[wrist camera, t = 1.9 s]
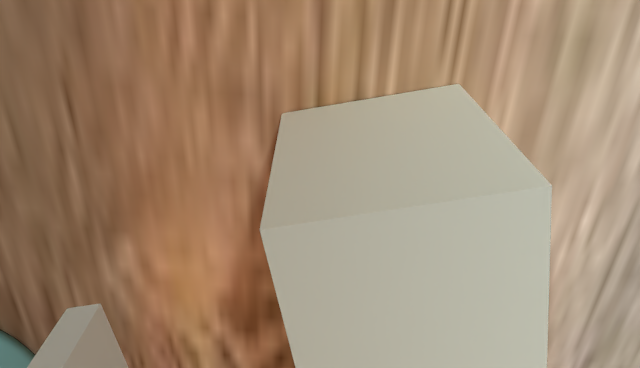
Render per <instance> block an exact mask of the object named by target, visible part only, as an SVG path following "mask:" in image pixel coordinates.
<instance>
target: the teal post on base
mask: <svg viewBox="0 0 640 368" xmlns="http://www.w3.org/2000/svg"><path fill="white" fill-rule="evenodd" d="M34 356H35V355H34V354H33V353H32V352H31V351H30V350H29V349H28V348H27V347H25V346H24V345H23V344H22V343H20V342H19V341H18V340H16V339H15V338H13V337H12V336H10V335H8V334H7V333H5V332H3V331H1V330H0V368H27V367H28V365H29V364H30V362H31V361H32V359H33V358H34Z"/></svg>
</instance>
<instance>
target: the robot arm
mask: <svg viewBox="0 0 640 368" xmlns="http://www.w3.org/2000/svg"><path fill="white" fill-rule="evenodd" d="M27 368H129V367H128V365H127V363H126V360H125V358H124V356H123V354H122V351H121V349H120V347H119V344H118V342H117V340H116V338H115V335H114V333H113V331H112V329H111V326H110V324H109V322H108V319H107V317H106V315H105V313H104V310H103V308H102V306H101V303H100V304H94V305H87V306H80V307H73V308H67V309H66V311H65V312H64V314H63V315H62V317H61V318H60V320H59V321H58V322H57V324H56V325H55V327H54V328H53V330H52V331H51V333H50V334H49V336H48V337H47V339H46V340H45V342H44V343H43V345H42V346H41V348H40V349H39V351H38V352H37V353H36V355H35V356H34V358H33V359H32V361H31V362H30V364H29V365H28V367H27Z"/></svg>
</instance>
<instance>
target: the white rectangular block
mask: <svg viewBox="0 0 640 368" xmlns="http://www.w3.org/2000/svg"><path fill="white" fill-rule="evenodd" d="M551 203H552V185H551V184H550V183H549V182H548V181H547V180H546V179H545V177H544V176H543V175H542V174H541V173H540V172H539V171H538V170H537V169H536V168H535V166H534V165H533V164H532V163H531V162H530V161H529V160H528V159H527V158H526V157H525V156H524V154H523V153H522V152H521V151H520V150H519V149H518V148H517V147H516V146H515V145H514V143H513V142H512V141H511V140H510V139H509V138H508V137H507V136H506V135H505V134H504V132H503V131H502V130H501V129H500V128H499V127H498V126H497V125H496V124H495V123H494V122H493V120H492V119H491V118H490V117H489V116H488V115H487V114H486V113H485V112H484V111H483V109H482V108H481V107H480V106H479V105H478V104H477V103H476V102H475V101H474V100H473V98H472V97H471V96H470V95H469V94H468V93H467V92H466V91H465V90H464V89H463V88H462V86H461V85H460V84H454V85H448V86H442V87H436V88H430V89H424V90H418V91H412V92H407V93H401V94H395V95H389V96H383V97H377V98H371V99H365V100H359V101H353V102H347V103H341V104H335V105H329V106H323V107H317V108H311V109H305V110H299V111H293V112H287V113H282V116H281V121H280V126H279V131H278V136H277V142H276V147H275V152H274V157H273V163H272V168H271V173H270V178H269V183H268V189H267V194H266V199H265V204H264V209H263V215H262V220H261V225H260V234H261V237H262V241H263V245H264V249H265V253H266V257H267V260H268V264H269V268H270V272H271V276H272V280H273V283H274V287H275V291H276V295H277V299H278V303H279V306H280V310H281V314H282V318H283V322H284V325H285V329H286V333H287V337H288V341H289V345H290V348H291V352H292V356H293V360H294V364H295V368H547V346H548V310H549V275H550V239H551Z"/></svg>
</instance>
